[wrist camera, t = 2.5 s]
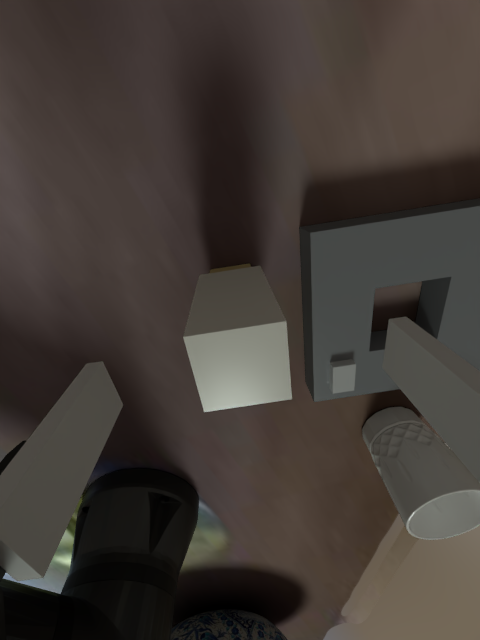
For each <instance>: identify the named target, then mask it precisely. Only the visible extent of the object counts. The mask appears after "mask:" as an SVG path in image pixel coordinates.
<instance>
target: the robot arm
mask: <svg viewBox="0 0 480 640" xmlns="http://www.w3.org/2000/svg"><path fill="white" fill-rule="evenodd" d="M382 368H383V369H384V370H385V372H386V373H387V374H388V375H389V376H390V378H391V379H392V380H393V381H394V382H395V383H396V385H397V386H398V387H399V388H400V389H401V391H402V392H403V393H404V394H405V395H406V396H407V398H408V399H409V400H410V401H411V402H412V404H413V405H414V406H415V407H416V408H417V409H418V411H419V412H420V413H421V414H422V415H423V417H424V418H425V419H426V420H427V421H428V422H429V424H430V425H431V426H432V427H433V428H434V430H435V431H436V432H437V433H438V434H439V436H440V437H441V438H442V439H443V440H444V441H445V443H446V444H447V445H448V446H449V447H450V449H451V450H452V451H453V452H454V453H455V454H456V456H457V457H458V458H459V459H460V460H461V462H462V463H463V464H464V465H465V466H466V467H467V469H468V470H469V471H470V472H471V473H472V475H473V476H474V477H475V478H476V479H477V480H478V482H479V483H480V371H479V370H477V369H476V368H475V367H473V366H472V365H471V364H469V363H468V362H467V361H465V360H464V359H463V358H461V357H460V356H459V355H457V354H456V353H454V352H453V351H452V350H450V349H449V348H448V347H446V346H445V345H444V344H442V343H441V342H440V341H438V340H437V339H436V338H434V337H433V336H432V335H430V334H429V333H428V332H426V331H425V330H423V329H422V328H421V327H419V326H418V325H417V324H415V323H414V322H413V321H411V320H410V319H409V318H407V317H400V318H393V319H389V322H388V329H387V337H386V344H385V352H384V359H383V367H382ZM122 407H123V403H122V401H121V399H120V397H119V395H118V393H117V390H116V388H115V386H114V384H113V382H112V380H111V378H110V376H109V374H108V371H107V369H106V367H105V365H104V363H103V361H101V362H94V363H87V364H86V365H85V366H84V367H83V369H82V370H81V371H80V373H79V374H78V375H77V376H76V378H75V379H74V380H73V382H72V383H71V384H70V386H69V387H68V388H67V389H66V391H65V392H64V393H63V395H62V396H61V397H60V398H59V400H58V401H57V402H56V404H55V405H54V406H53V408H52V409H51V410H50V411H49V413H48V414H47V415H46V417H45V418H44V419H43V420H42V422H41V423H40V424H39V426H38V427H37V428H36V429H35V431H34V432H33V433H32V435H31V436H30V437H29V439H28V440H27V441H22V442H21V443H20V444H19V445H17V446H16V447H15V448H14V449H13V450H12V451H10V452H9V453H8V454H7V455H6V456H5V457H4V459H3V460H2V461H1V462H0V640H171V632H172V623H173V614H174V606H175V596H176V587H177V580H178V575H179V572H180V570H181V567H182V564H183V561H184V559H185V556H186V553H187V550H188V547H189V545H190V542H191V539H192V536H193V534H194V531H195V528H196V525H197V520H198V508H199V499H198V496H197V494H196V492H195V490H194V489H193V488H192V487H191V486H190V485H189V484H188V483H187V482H185V481H184V480H182V479H180V478H179V477H177V476H174V475H172V474H169V473H166V472H162V471H158V470H152V469H126V470H120V471H116V472H112V473H109V474H107V475H104V476H102V477H100V478H99V479H97V480H96V481H95V482H93V483H92V484H91V485H90V487H89V488H88V490H87V491H86V494H85V496H84V498H83V500H82V503H81V505H80V507H79V510H78V514H77V521H76V529H75V536H74V544H73V551H72V559H71V566H70V571H69V574H68V577H67V579H66V582H65V584H64V587H63V589H62V592H61V594H58V593H55V592H51V591H47V590H43V589H40V588H36V587H32V586H28V585H25V584H21V583H17V582H14V581H10V580H6V579H2V578H3V576H4V575H5V573H8V574H9V575H10V576H12V577H13V578H14V579H15V580H17V581H22V580H30V579H38V578H43V577H44V575H45V573H46V571H47V569H48V567H49V564H50V562H51V560H52V558H53V556H54V554H55V552H56V549H57V547H58V545H59V543H60V541H61V539H62V536H63V534H64V532H65V530H66V528H67V526H68V523H69V521H70V519H71V517H72V515H73V513H74V510H75V508H76V506H77V504H78V502H79V500H80V498H81V495H82V493H83V491H84V489H85V487H86V485H87V482H88V480H89V478H90V476H91V474H92V472H93V469H94V467H95V465H96V463H97V461H98V459H99V456H100V454H101V452H102V450H103V448H104V446H105V443H106V441H107V439H108V437H109V435H110V433H111V431H112V428H113V426H114V424H115V422H116V420H117V418H118V415H119V413H120V411H121V409H122Z"/></svg>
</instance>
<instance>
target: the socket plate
mask: <svg viewBox="0 0 480 640" xmlns="http://www.w3.org/2000/svg"><path fill="white" fill-rule="evenodd" d="M299 230H300V255H301V281H302V306H303V331H304V356H305V382H306V384H307V386H308V389H309V391H310V393H311V396H312V398H313V401H314V402H317V401H324V400H330V399H337V398H343V397H350V396H357V395H363V394H370V393H377V392H383V391H390V390H397V389H400V388H399V387H398V386H397V385H396V383H395V382H394V381H393V380H392V379H391V378H390V376H389V375H388V374H387V373H386V372H385V370H384V369H383V368H382V367H383V359H384V352H385V344H386V337H387V330H382V331H376V332H371V327H372V316H373V305H374V295H375V288H381V287H388V286H394V285H400V284H407V283H413V282H420V281H423V282H422V288H421V293H420V299H419V304H418V310H417V316H416V321H415V324H417V325H418V326H419V327H421V328H422V329H423V330H425V331H426V332H428V333H429V334H430V335H432V336H433V337H434V338H436V339H437V340H438V341H440V342H441V343H442V344H444V345H445V346H446V347H448V348H449V349H450V350H452V351H453V352H454V353H456V354H457V355H459V356H460V357H461V358H463V359H464V360H465V361H467V362H468V363H469V364H471V365H472V366H473V367H475V368H476V369H477V370H479V371H480V198H478V199H472V200H466V201H460V202H453V203H447V204H441V205H434V206H428V207H422V208H416V209H409V210H403V211H397V212H391V213H384V214H378V215H372V216H365V217H359V218H353V219H347V220H340V221H334V222H328V223H321V224H315V225H309V226H303V227H299Z"/></svg>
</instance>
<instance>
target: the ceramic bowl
mask: <svg viewBox="0 0 480 640" xmlns="http://www.w3.org/2000/svg"><path fill="white" fill-rule="evenodd" d="M171 640H287V639H286V637H285V636H284V635H283V634H282V632H281V631H280V630H279V629H278V628H277V627H276V626H275V625H274V624H272V623H271V622H270V621H269V620H267V619H266V618H264V617H262V616H260V615H258V614H255V613H252V612H248V611H244V610H235V609H222V610H213V611H208V612H204V613H200V614H197V615H194V616H192V617H189V618H187V619H185V620H184V621H182V622H180V623H179V624H177V625H176V626H175V627H173V628H172V632H171Z"/></svg>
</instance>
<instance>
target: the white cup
mask: <svg viewBox="0 0 480 640" xmlns="http://www.w3.org/2000/svg"><path fill="white" fill-rule="evenodd" d="M362 434H363V439H364V441H365V443H366V445H367V447H368V449H369V451H370V453H371V455H372V458H373V461H374V463H375V465H376V467H377V469H378V471H379V473H380V476H381V478H382V480H383V482H384V484H385V486H386V488H387V490H388V492H389V494H390V496H391V498H392V500H393V502H394V504H395V506H396V508H397V510H398V512H399V514H400V516H401V518H402V520H403V522H404V524H405V526H406V528H407V530H408V532H409V533H410V534H411V535H413V536H415V537H417V538H421V539H427V540H436V539H445V538H450V537H454V536H457V535H460V534H463V533H465V532H468V531H470V530H472V529H474V528H476V527H478V526H479V525H480V483H479V482H478V480H477V479H476V478H475V477H474V476H473V475H472V473H471V472H470V471H469V470H468V469H467V467H466V466H465V465H464V464H463V463H462V462H461V460H460V459H459V458H458V457H457V456H456V454H455V453H454V452H453V451H452V450H451V449H449V447H448V446H446V444H445V443H444V442H443V441H442V440H441V439H440V438H439V437H438V436H437V435H436V434H435V433H434V432H433V431H432V430H431V429H429V428H428V427H427V426H426V425H425V424H424V423H423V422H422V421H421V420H420V418H419V417H418V416H417V415H416V414H415V413H414V412H413V411H412V410H410V409H407V408H404V407H389V408H386V409H384V410H381V411H379V412H376V413H375V414H374V415H372V416H371V417H370V418H369V419H368V420H367V421H366V423H365V424H364V426H363V428H362Z"/></svg>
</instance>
